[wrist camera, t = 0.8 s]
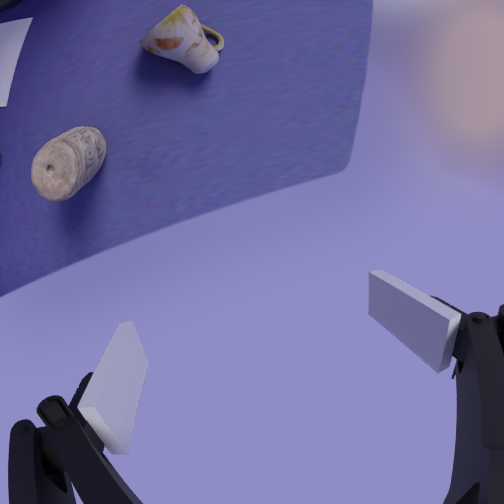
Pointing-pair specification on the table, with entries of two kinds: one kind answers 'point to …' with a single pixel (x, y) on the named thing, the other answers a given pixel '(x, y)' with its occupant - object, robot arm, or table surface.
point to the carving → (68, 163)
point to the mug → (184, 41)
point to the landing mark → (10, 53)
